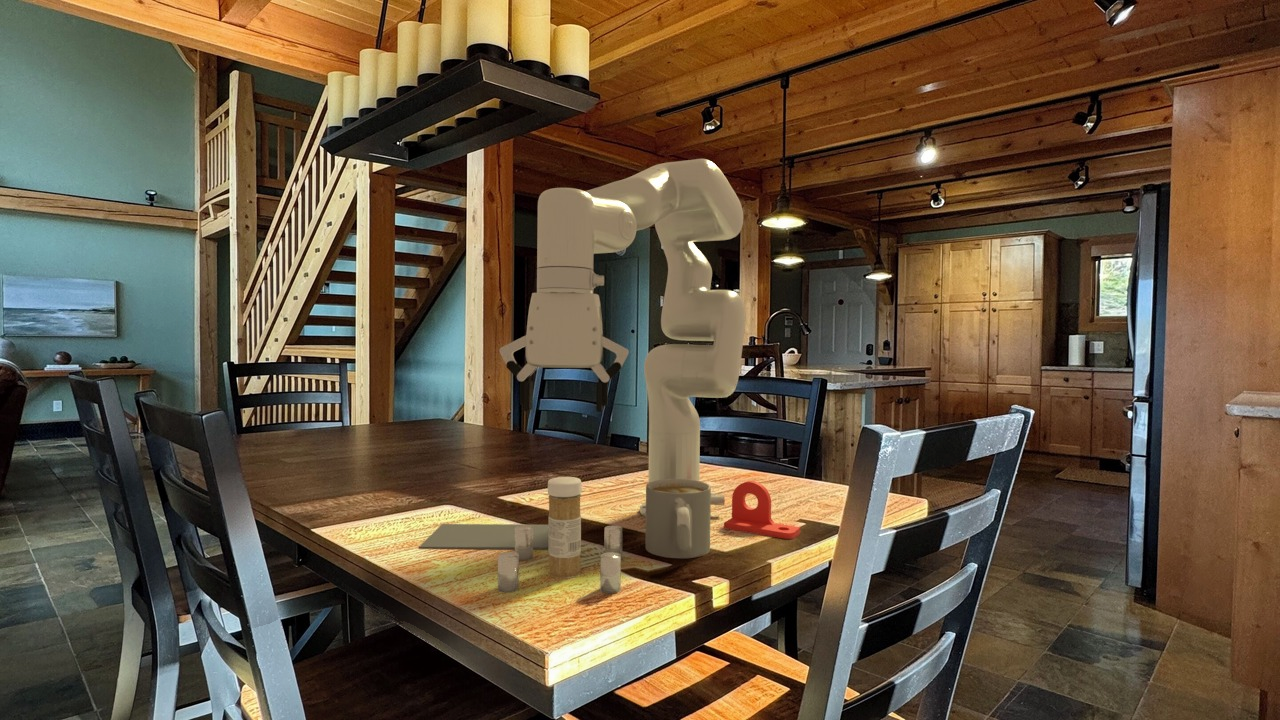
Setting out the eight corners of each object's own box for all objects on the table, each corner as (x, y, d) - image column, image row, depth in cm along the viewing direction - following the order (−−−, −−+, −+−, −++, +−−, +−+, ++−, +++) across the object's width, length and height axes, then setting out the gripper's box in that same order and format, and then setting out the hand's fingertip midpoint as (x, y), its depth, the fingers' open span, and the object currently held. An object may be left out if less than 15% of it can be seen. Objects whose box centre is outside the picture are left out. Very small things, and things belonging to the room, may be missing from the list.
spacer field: (622, 555, 98) (622, 522, 98) (620, 598, 82) (620, 559, 82) (518, 555, 98) (518, 522, 98) (495, 598, 82) (495, 558, 82)
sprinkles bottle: (570, 568, 93) (571, 474, 92) (587, 578, 89) (587, 480, 88) (541, 575, 90) (541, 478, 89) (557, 585, 86) (557, 484, 86)
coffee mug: (650, 538, 107) (650, 477, 107) (711, 541, 105) (712, 480, 105) (637, 566, 94) (637, 497, 93) (706, 571, 92) (707, 500, 92)
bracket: (723, 529, 113) (724, 483, 113) (734, 522, 117) (734, 478, 116) (791, 540, 107) (792, 492, 106) (800, 533, 110) (801, 487, 110)
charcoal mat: (560, 529, 111) (560, 524, 111) (551, 552, 99) (551, 547, 99) (442, 528, 111) (442, 524, 111) (419, 552, 99) (419, 546, 99)
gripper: (629, 287, 92) (628, 409, 92) (506, 285, 91) (505, 407, 92) (629, 282, 84) (627, 414, 85) (494, 280, 84) (493, 413, 84)
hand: (563, 410), depth 88 cm, fingers open, 9 cm apart
